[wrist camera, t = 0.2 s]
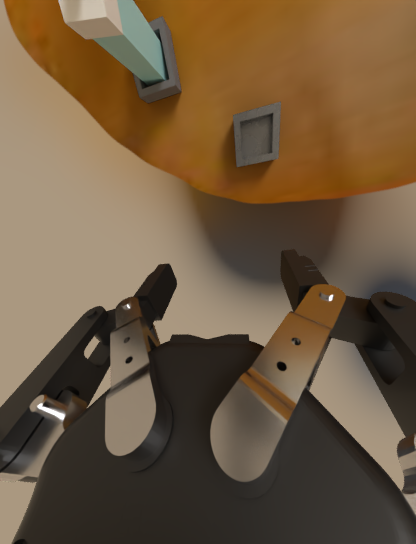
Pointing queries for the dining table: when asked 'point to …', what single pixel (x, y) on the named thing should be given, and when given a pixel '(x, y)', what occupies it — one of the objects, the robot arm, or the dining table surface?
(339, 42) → the dining table surface
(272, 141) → the tray
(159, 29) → the holster
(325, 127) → the dining table surface
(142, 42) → the plug
